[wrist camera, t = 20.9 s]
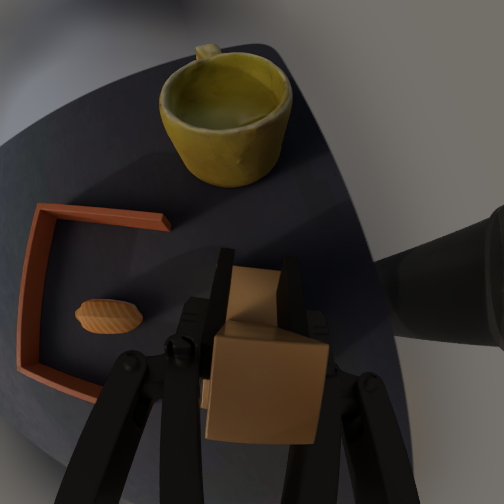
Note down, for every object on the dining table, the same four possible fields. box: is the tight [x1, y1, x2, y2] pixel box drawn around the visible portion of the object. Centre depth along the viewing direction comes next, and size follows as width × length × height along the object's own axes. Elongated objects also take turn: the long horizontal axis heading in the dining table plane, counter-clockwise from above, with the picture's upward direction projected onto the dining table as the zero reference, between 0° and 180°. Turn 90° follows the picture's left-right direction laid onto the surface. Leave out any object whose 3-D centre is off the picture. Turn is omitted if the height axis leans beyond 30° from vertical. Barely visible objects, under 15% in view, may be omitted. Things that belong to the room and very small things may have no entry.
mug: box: [159, 43, 292, 188], centre depth 21 cm, size 12×10×10 cm
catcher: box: [17, 203, 171, 404], centre depth 19 cm, size 13×15×3 cm
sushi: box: [75, 299, 143, 334], centre depth 19 cm, size 3×6×3 cm, turn 93°
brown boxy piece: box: [201, 265, 329, 445], centre depth 14 cm, size 10×5×16 cm, turn 174°
